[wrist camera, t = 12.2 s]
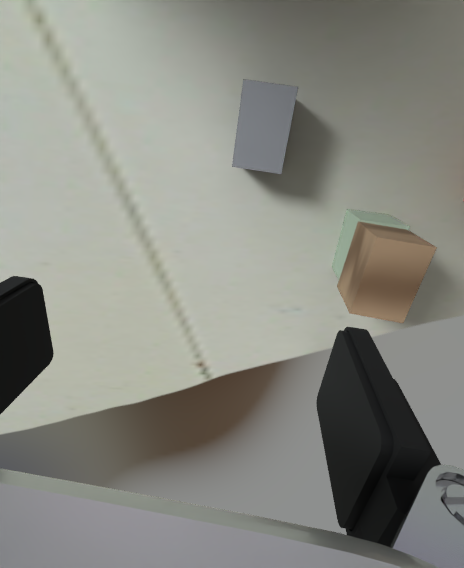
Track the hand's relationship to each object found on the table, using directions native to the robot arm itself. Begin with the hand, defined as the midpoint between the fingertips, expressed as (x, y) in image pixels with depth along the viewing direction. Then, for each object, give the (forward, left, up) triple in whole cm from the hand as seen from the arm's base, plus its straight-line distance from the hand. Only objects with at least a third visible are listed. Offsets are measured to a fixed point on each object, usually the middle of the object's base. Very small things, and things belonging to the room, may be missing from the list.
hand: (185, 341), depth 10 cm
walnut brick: (+1, +12, -18) cm, 22 cm away
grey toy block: (-7, +1, -23) cm, 25 cm away
